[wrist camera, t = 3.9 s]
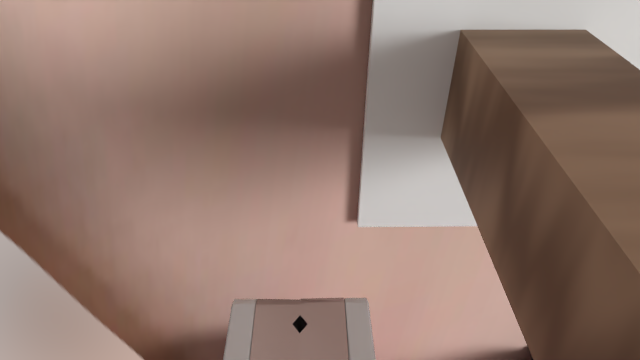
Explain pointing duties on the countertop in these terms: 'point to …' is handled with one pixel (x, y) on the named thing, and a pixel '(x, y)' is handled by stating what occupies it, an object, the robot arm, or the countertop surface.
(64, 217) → the countertop surface
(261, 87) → the countertop surface
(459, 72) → the walnut block
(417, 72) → the white flat rectangular panel
